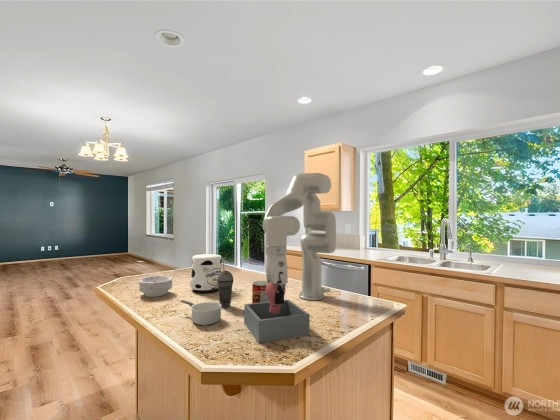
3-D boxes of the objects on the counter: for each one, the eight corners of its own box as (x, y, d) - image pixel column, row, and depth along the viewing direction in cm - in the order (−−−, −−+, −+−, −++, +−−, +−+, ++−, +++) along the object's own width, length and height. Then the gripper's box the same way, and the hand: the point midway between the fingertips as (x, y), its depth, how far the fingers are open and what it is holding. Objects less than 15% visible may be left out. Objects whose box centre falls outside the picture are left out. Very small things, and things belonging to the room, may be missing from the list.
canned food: (262, 307, 125) (262, 279, 125) (274, 311, 120) (274, 283, 120) (248, 311, 120) (248, 282, 120) (260, 316, 114) (260, 286, 114)
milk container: (219, 294, 145) (219, 258, 145) (185, 294, 145) (185, 258, 145) (225, 285, 162) (226, 254, 162) (195, 285, 162) (196, 253, 162)
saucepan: (192, 310, 121) (192, 296, 121) (227, 319, 111) (228, 305, 111) (169, 318, 111) (169, 303, 111) (205, 329, 101) (205, 313, 101)
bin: (288, 317, 113) (288, 299, 113) (309, 335, 97) (309, 314, 97) (244, 323, 107) (244, 304, 107) (258, 343, 90) (258, 321, 90)
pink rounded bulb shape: (288, 312, 103) (288, 279, 104) (280, 318, 97) (280, 283, 97) (270, 309, 106) (271, 277, 107) (261, 315, 100) (262, 280, 100)
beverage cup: (229, 309, 122) (230, 262, 122) (213, 308, 123) (214, 261, 124) (235, 304, 129) (236, 259, 129) (220, 303, 130) (221, 259, 131)
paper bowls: (160, 299, 134) (161, 283, 135) (131, 297, 137) (132, 281, 137) (177, 291, 149) (178, 276, 150) (151, 289, 152) (151, 274, 152)
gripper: (295, 253, 95) (295, 306, 95) (277, 247, 112) (276, 293, 111) (274, 254, 93) (274, 309, 92) (258, 248, 109) (258, 295, 109)
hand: (275, 300), depth 102 cm, fingers closed on pink rounded bulb shape, 7 cm apart
